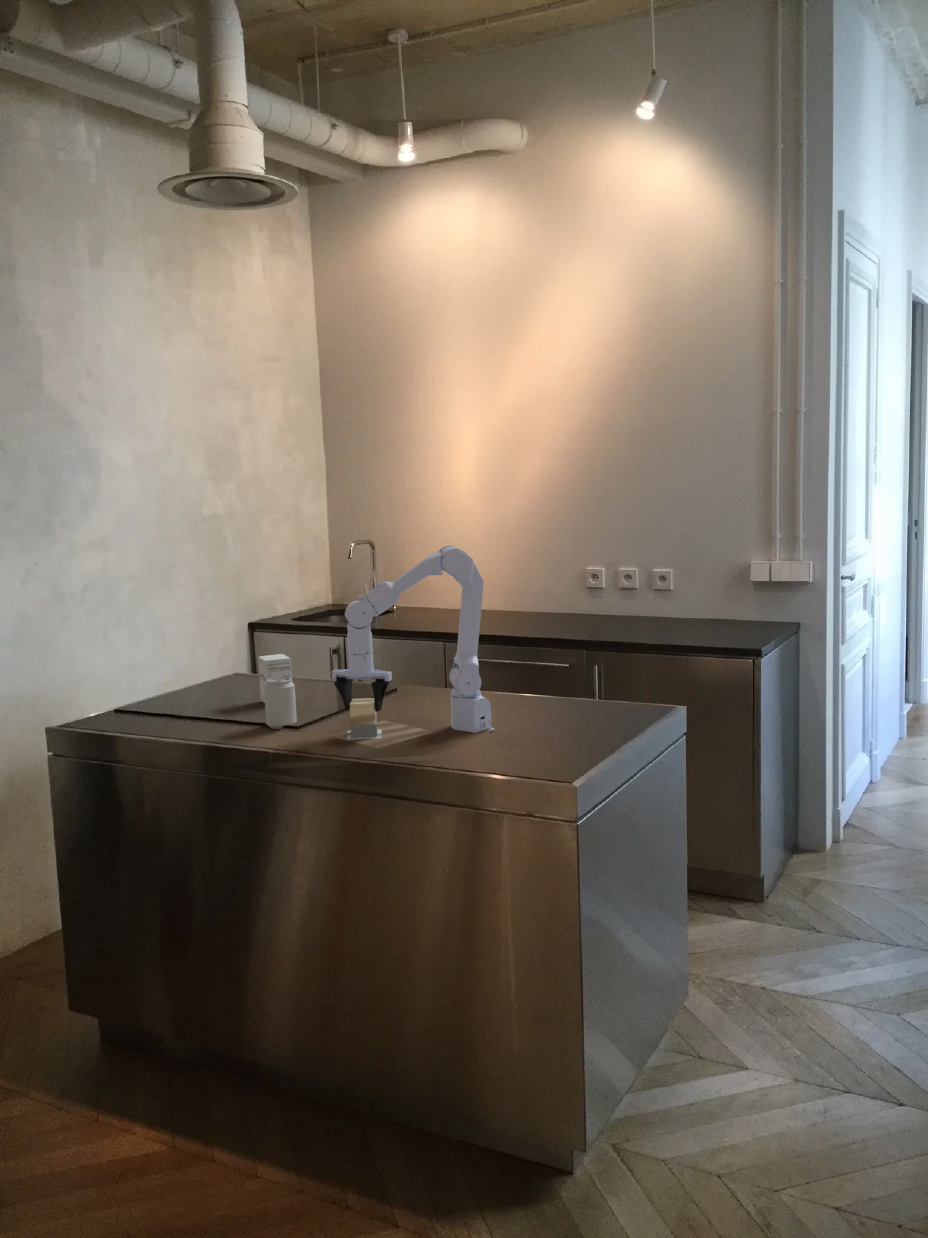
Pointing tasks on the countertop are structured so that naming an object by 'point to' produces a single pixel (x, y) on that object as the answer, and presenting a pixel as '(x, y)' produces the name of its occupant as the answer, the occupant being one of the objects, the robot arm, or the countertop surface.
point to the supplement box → (273, 669)
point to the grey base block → (364, 731)
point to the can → (280, 702)
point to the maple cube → (362, 711)
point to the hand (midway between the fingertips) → (363, 709)
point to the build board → (385, 734)
